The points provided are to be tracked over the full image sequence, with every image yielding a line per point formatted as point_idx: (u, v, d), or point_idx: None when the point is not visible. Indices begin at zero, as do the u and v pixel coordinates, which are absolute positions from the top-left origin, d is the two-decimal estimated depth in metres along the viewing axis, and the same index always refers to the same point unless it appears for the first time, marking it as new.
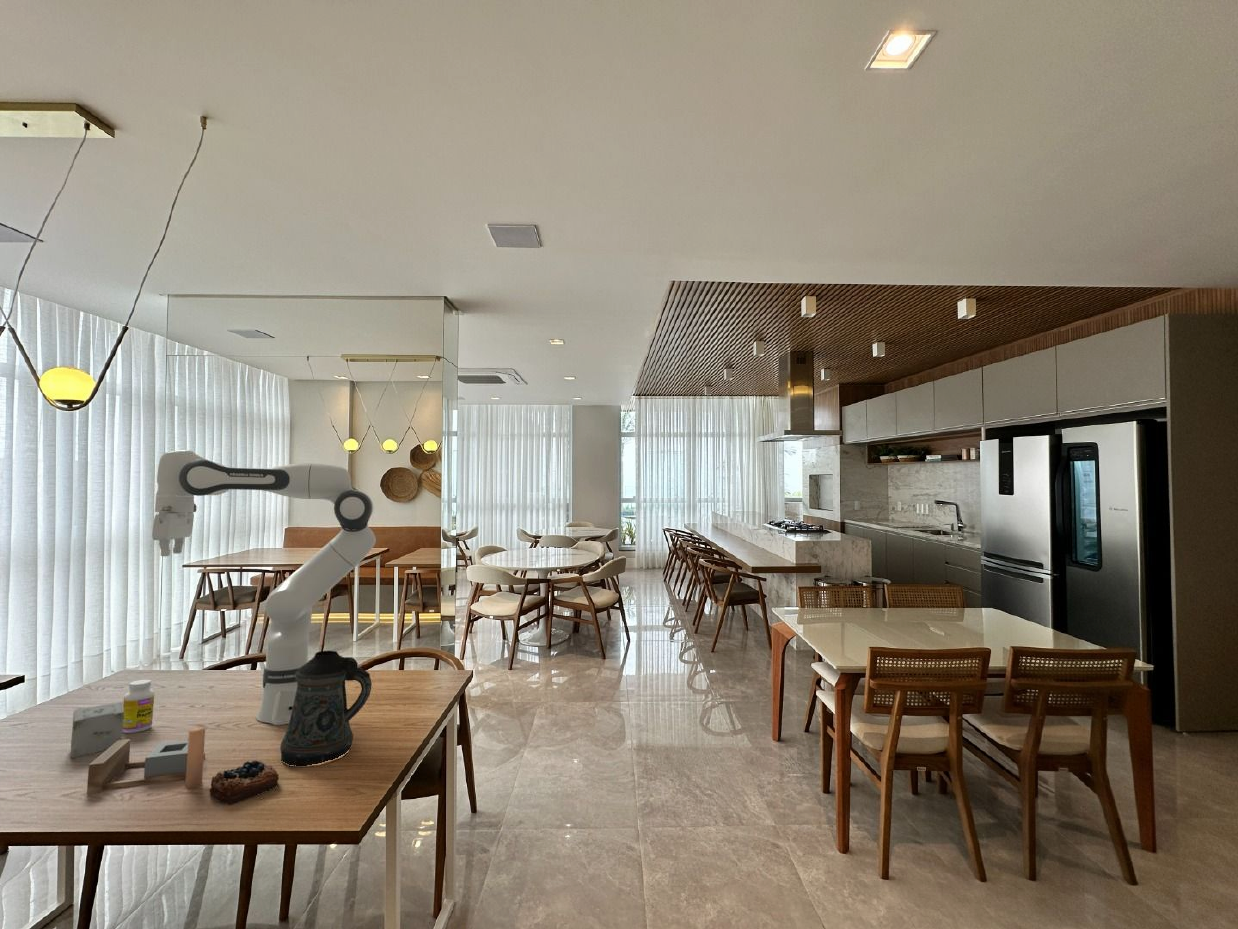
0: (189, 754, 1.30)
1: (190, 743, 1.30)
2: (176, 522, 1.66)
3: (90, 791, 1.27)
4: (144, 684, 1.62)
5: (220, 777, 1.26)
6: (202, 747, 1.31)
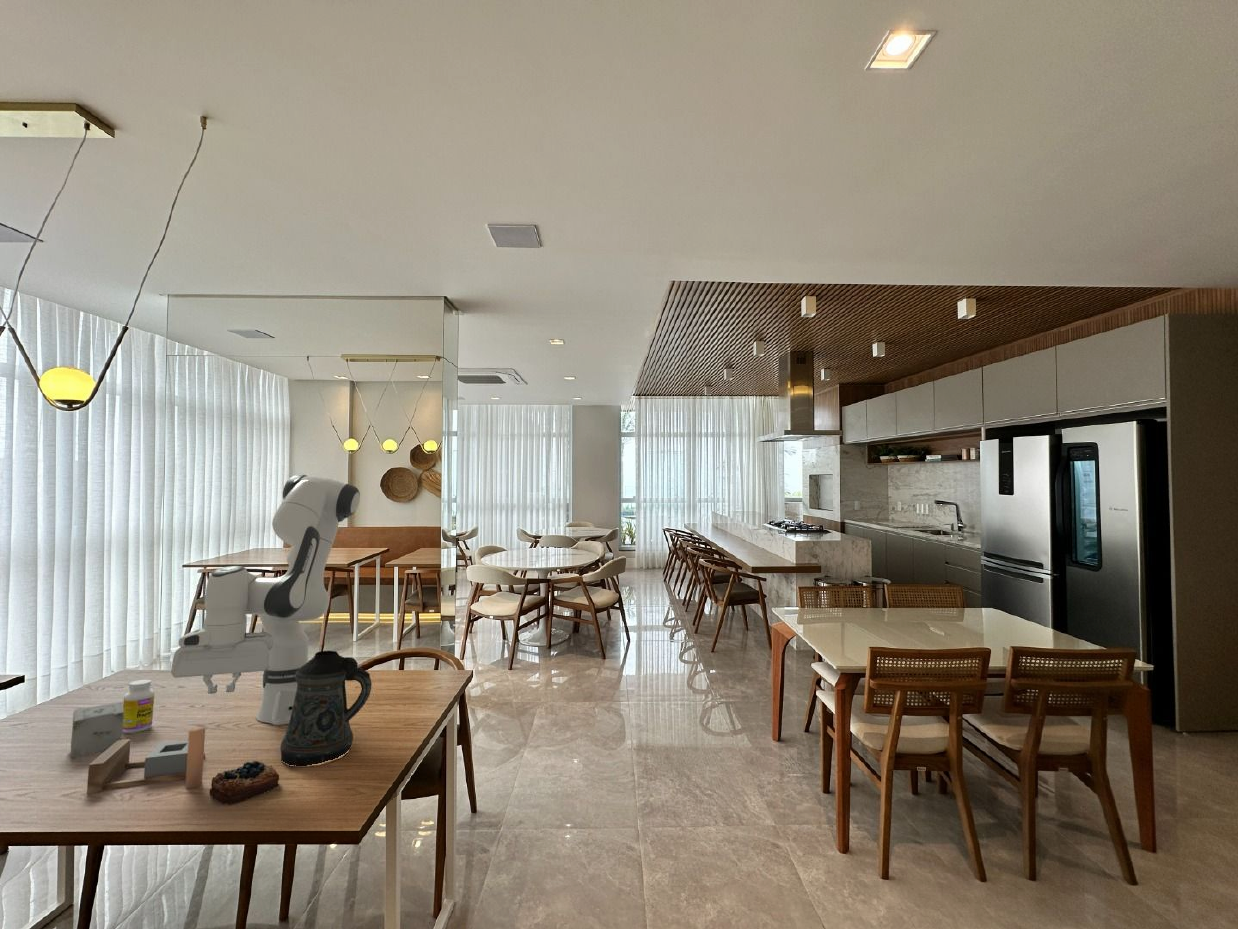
0: (189, 754, 1.30)
1: (190, 743, 1.30)
2: None
3: (90, 791, 1.27)
4: (144, 684, 1.62)
5: (220, 778, 1.26)
6: (202, 747, 1.31)
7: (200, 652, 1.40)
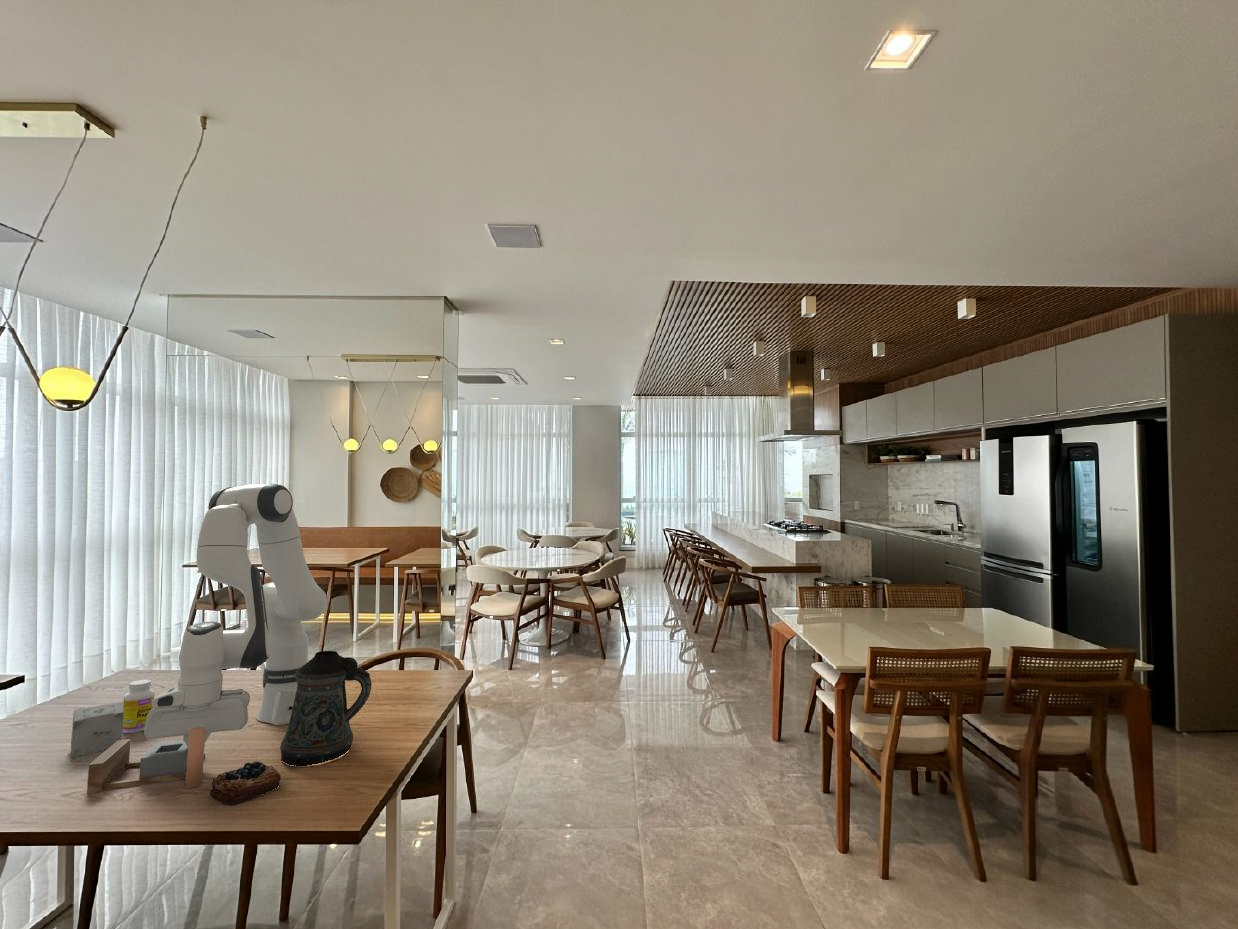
0: (189, 754, 1.30)
1: (190, 743, 1.30)
2: None
3: (90, 791, 1.27)
4: (144, 684, 1.62)
5: (222, 778, 1.26)
6: (202, 747, 1.31)
7: (174, 712, 1.37)
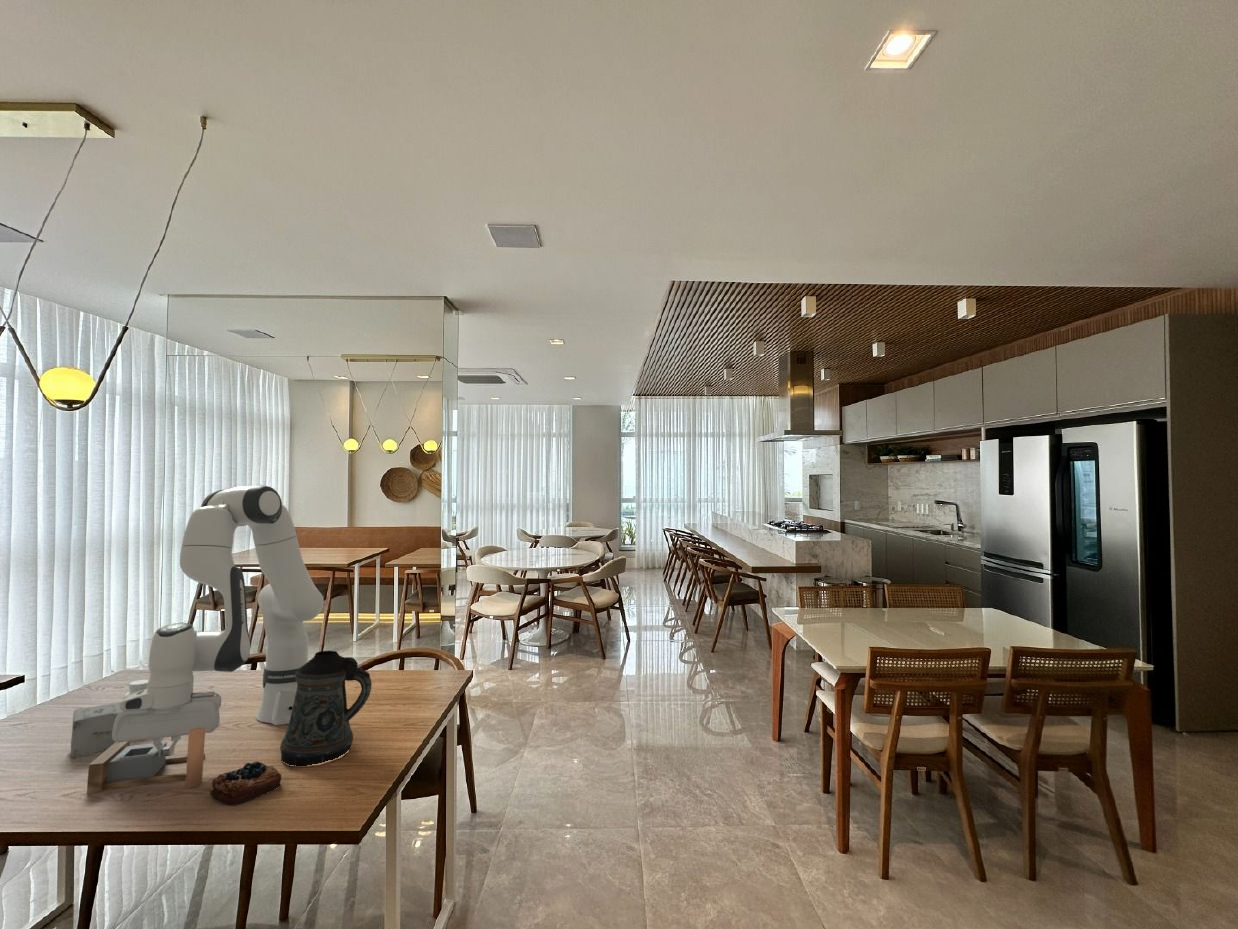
0: (189, 754, 1.30)
1: (190, 743, 1.30)
2: None
3: (90, 791, 1.27)
4: (144, 684, 1.62)
5: (222, 779, 1.25)
6: (202, 747, 1.31)
7: (143, 715, 1.35)
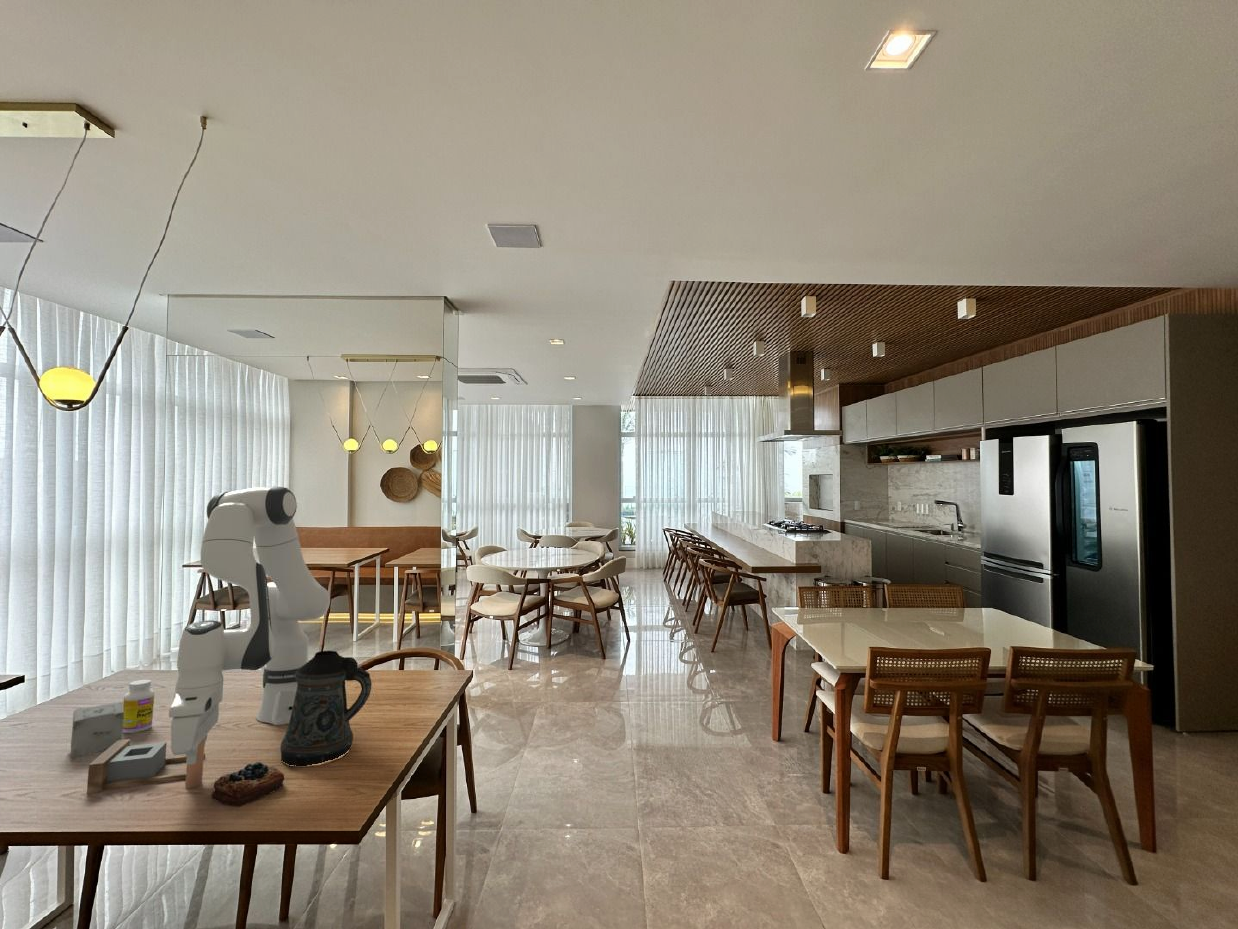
0: None
1: None
2: None
3: (90, 791, 1.27)
4: (144, 684, 1.62)
5: (225, 780, 1.25)
6: (202, 747, 1.31)
7: None
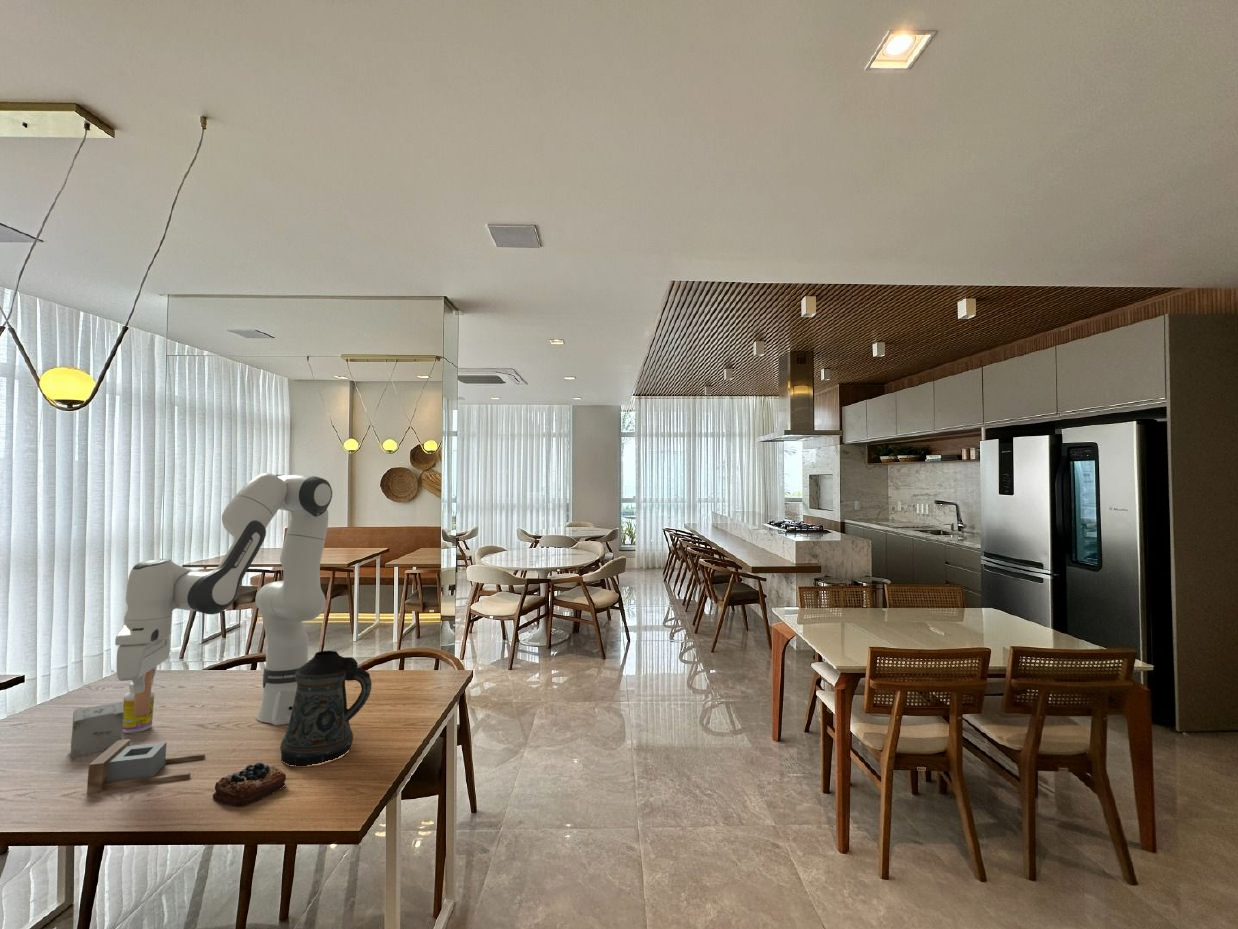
0: None
1: None
2: None
3: (90, 791, 1.27)
4: None
5: (227, 781, 1.24)
6: (150, 678, 1.37)
7: (149, 648, 1.34)
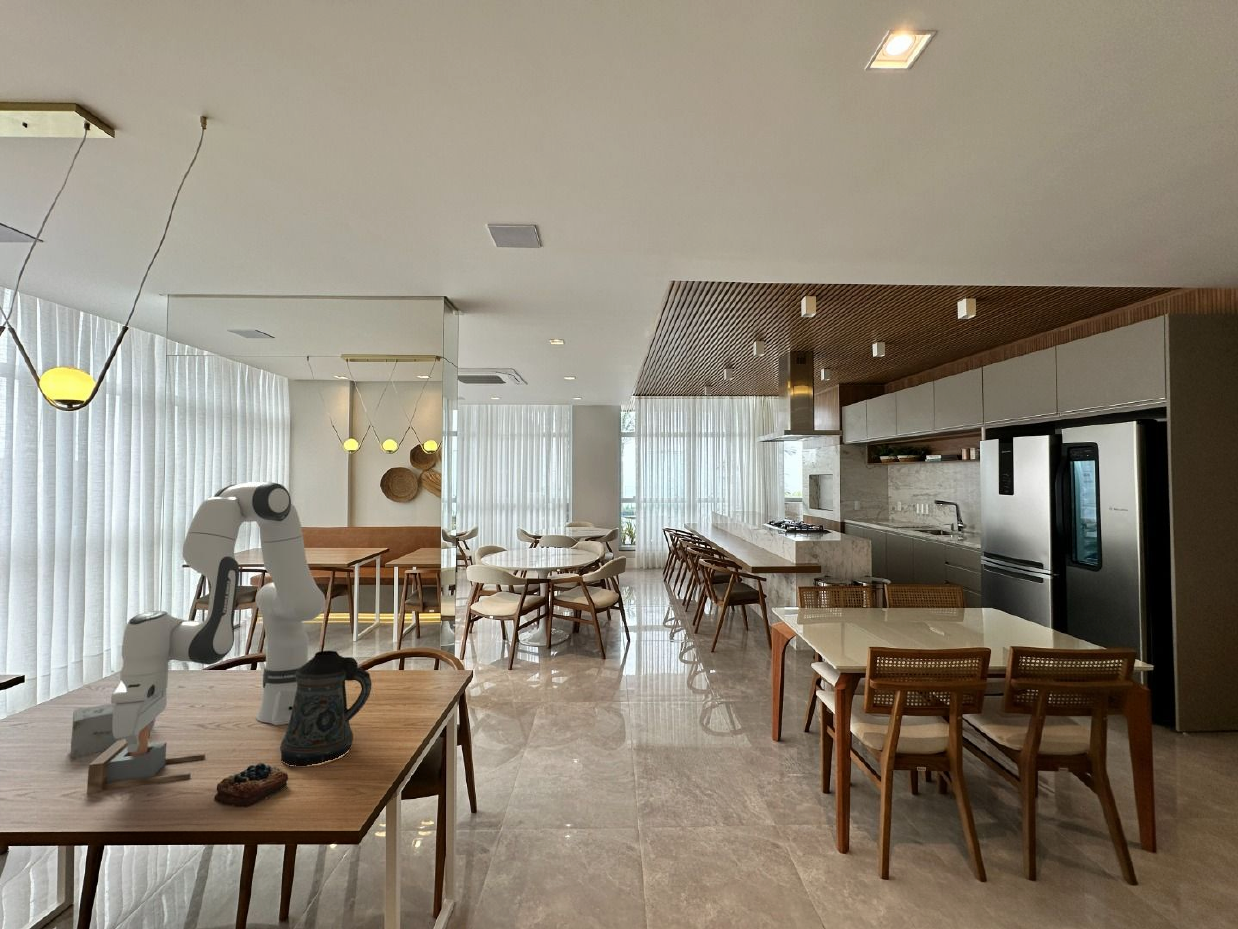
0: None
1: None
2: None
3: (90, 791, 1.27)
4: None
5: (230, 782, 1.24)
6: (146, 738, 1.36)
7: (145, 703, 1.33)
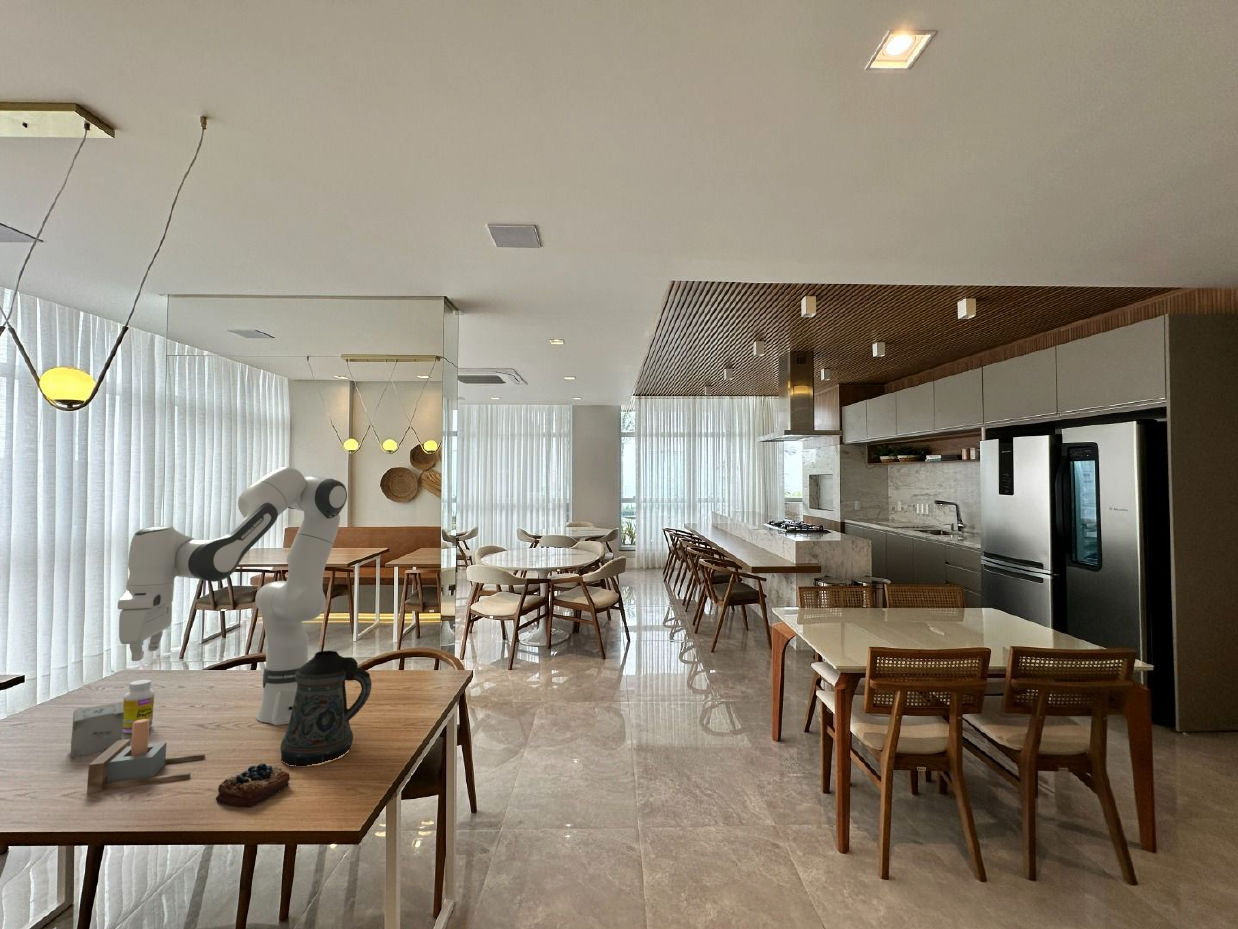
0: (133, 745, 1.35)
1: (134, 734, 1.35)
2: None
3: (90, 791, 1.27)
4: (144, 684, 1.62)
5: (232, 783, 1.24)
6: (146, 738, 1.36)
7: (151, 613, 1.35)
